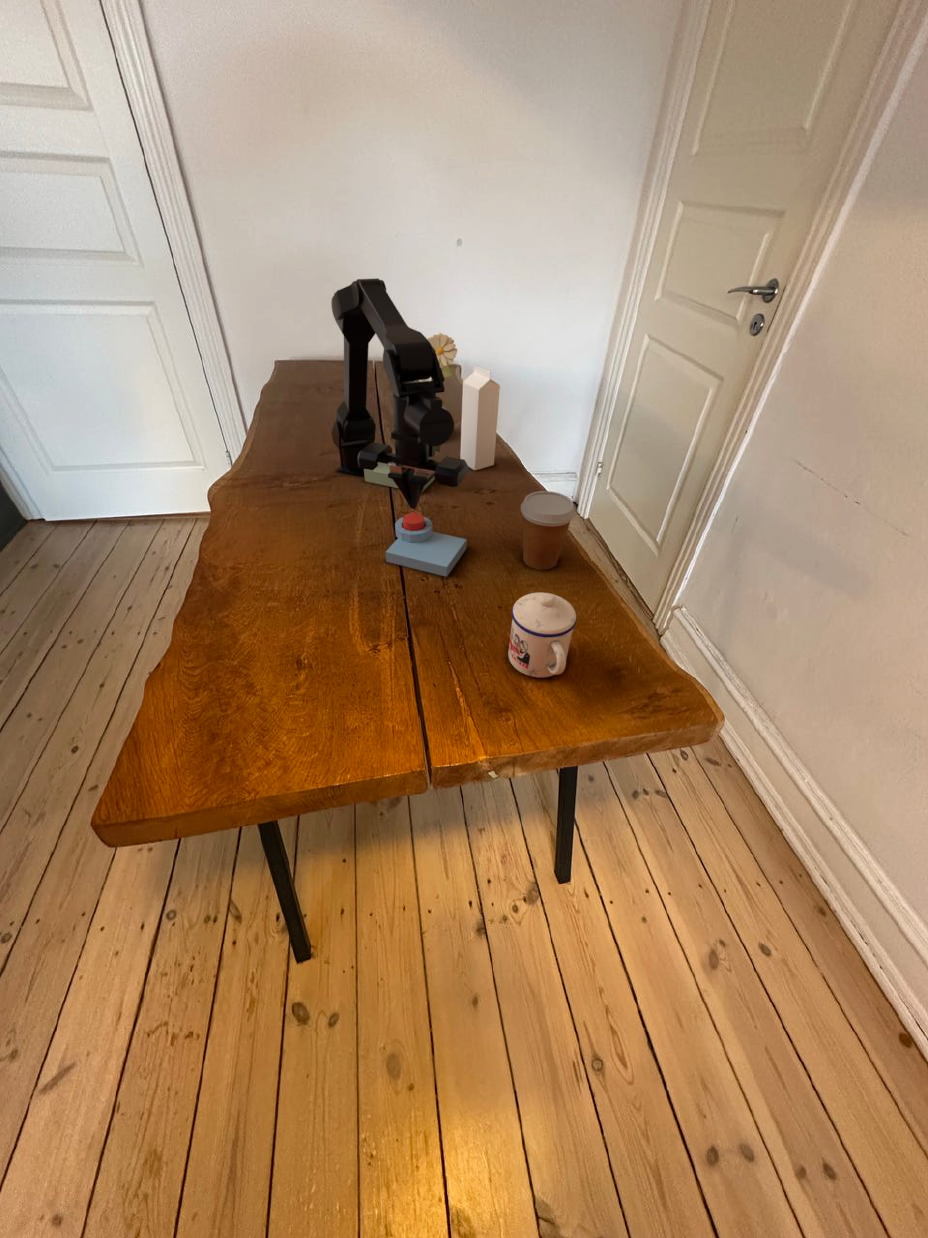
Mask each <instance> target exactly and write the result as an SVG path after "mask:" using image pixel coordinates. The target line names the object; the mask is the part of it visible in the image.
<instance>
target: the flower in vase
mask: <svg viewBox="0 0 928 1238" xmlns="http://www.w3.org/2000/svg"><path fill="white" fill-rule="evenodd" d="M427 340H428V341H429V342H430V343H431V345H432V347H433V348H434V350H435V352H436V355H437V358H438V361H439V364H440V367H441V370H442V373H443V376H444V379H447V378H452V377H455V376H456V375H455V373H454V371H453V370H452V369H451V368H450V367H449V366H451V365H453V363H454V360H455V358H456V356H457V354H458V348H456V344H455V340H454V339H453V338H452V337H451V336H448V334H444V333H442V332H439V333H438V334H433V336H430V337H427ZM425 381H432V378H431V377H430V378H429V379H425V380H418V382H425Z"/></svg>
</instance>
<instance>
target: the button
mask: <svg viewBox="0 0 928 1238" xmlns="http://www.w3.org/2000/svg"><path fill="white" fill-rule="evenodd" d="M424 517H425V516H424V515H423V514H422V513H418V512H410V513H406V514H405V515H404V516H402V518H403V527H404V529H405V530H409V531H419V530H422V529H424Z"/></svg>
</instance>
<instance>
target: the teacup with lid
mask: <svg viewBox="0 0 928 1238" xmlns="http://www.w3.org/2000/svg"><path fill="white" fill-rule="evenodd" d="M511 617H512V620H511V629H510V637H509V644H508V653H507V654H508V660H509V662H510V664H511V665H512V667H513V668H514V669H515V670H517V671H518V672H519V673H521V674H523V675H526V676H528V677H533V678H549V677H552V676H557V675H561V674H562V673H564V671H565V669H566V666H567V658H568V653H569V649H570V645H571V640H572V635H573V631H574V628H575V626H576V625H577V621H578V620H577V619H578V618H577V612H576V610H575V608H574V606H573V605H572V604H571V603H570V602H569V601H568V600H566V599H565V598H563V597H561V596H559V595H556V594H554V593H549V592H532V593H528V594H525V595H523V596H521V597H520V598H518V599H517V600H516V601H515V603H514V604H513V606H512V609H511Z"/></svg>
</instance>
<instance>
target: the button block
mask: <svg viewBox="0 0 928 1238" xmlns="http://www.w3.org/2000/svg"><path fill="white" fill-rule="evenodd" d="M394 525H395V526H394V528H395V529H394V530H395V537H396V538H397V539H395V541H394V542H393V543H392V544H391V545H390V546H389V547H388V548H387V550H386V551H385V561H386V562H387V563H390V564H393V565H394V564H395V565H399V566H402V567H406V568H410V569H415V570H419V571H422V572H427V573H430V574H434V575H437V576H442V577H448V576H449V575H450V573H451V572H452V570H453V569H454V568H455V566H456V565H457V563H458V562H459V561H460V559H461V558H462V556H463V554H464V552H465V551H466V550H467V541H468V540H467V538H464V537H463V538H462V537H458V536H454V535H451V534H445V533H441V532H437V531H434V529H433V528H434V526H433V521H432V520H430V519H429V518H428V517H426V516H424V529H422V530H419V531H409V530H405V529H404V527H403V517H400V518H398V519H397V521H395V523H394Z"/></svg>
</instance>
